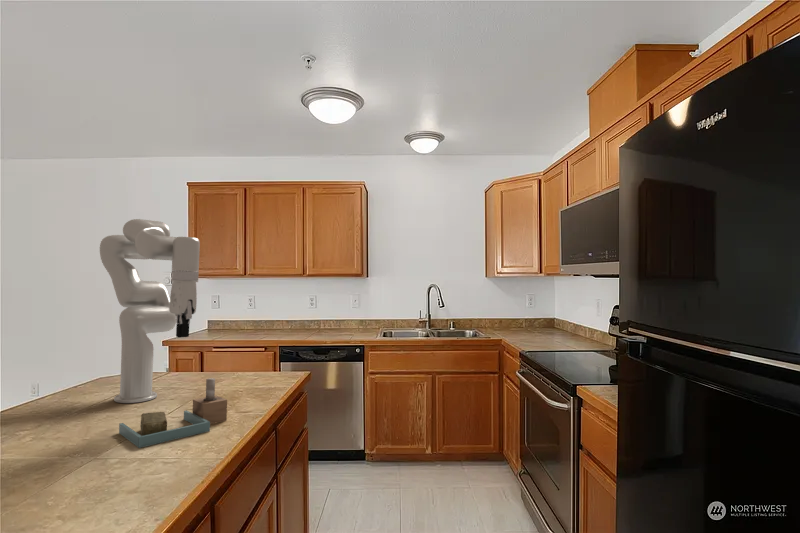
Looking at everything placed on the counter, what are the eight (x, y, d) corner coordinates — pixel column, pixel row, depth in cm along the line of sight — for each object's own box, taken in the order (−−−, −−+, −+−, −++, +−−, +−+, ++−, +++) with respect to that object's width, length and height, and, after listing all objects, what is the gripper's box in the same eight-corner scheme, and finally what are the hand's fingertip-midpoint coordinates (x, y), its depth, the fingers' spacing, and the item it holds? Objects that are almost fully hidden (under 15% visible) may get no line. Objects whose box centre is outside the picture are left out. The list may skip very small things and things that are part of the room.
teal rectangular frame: (119, 433, 120) (119, 423, 120) (186, 418, 133) (186, 410, 133) (139, 447, 110) (139, 437, 110) (209, 431, 123) (210, 421, 123)
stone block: (142, 443, 113) (142, 423, 114) (139, 430, 123) (140, 412, 123) (167, 439, 116) (168, 420, 117) (163, 427, 126) (164, 409, 126)
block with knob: (192, 420, 132) (193, 379, 132) (215, 415, 137) (216, 375, 138) (202, 425, 127) (204, 382, 128) (226, 420, 133) (227, 379, 133)
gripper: (163, 276, 141) (161, 334, 141) (180, 277, 130) (178, 341, 130) (188, 276, 146) (186, 333, 146) (207, 278, 136) (204, 339, 135)
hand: (182, 336), depth 138 cm, fingers closed
